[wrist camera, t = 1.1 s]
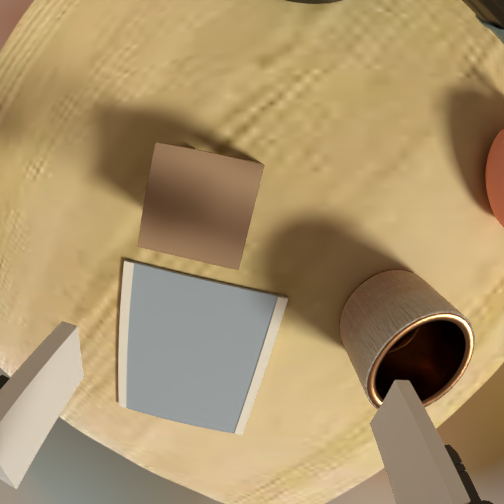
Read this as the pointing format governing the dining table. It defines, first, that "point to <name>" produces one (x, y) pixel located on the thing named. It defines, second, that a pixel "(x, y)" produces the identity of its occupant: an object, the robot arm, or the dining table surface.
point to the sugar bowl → (496, 177)
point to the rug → (193, 346)
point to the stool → (199, 204)
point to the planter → (405, 337)
